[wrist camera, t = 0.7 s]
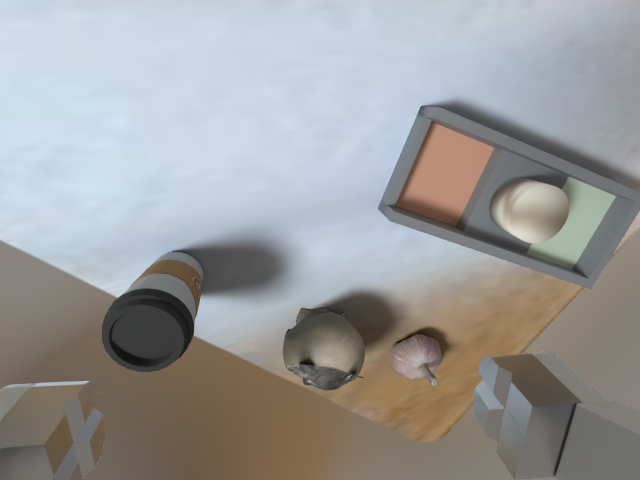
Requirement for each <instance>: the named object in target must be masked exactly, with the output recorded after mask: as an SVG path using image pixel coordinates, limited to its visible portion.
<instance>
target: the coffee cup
mask: <svg viewBox="0 0 640 480" xmlns="http://www.w3.org/2000/svg"><path fill="white" fill-rule="evenodd" d="M203 278H204V274H203V270H202V267H201V265H200V264H199V262H198V261H197V260H196V259H195V258H193V257H192V256H190V255H188V254H185V253H182V252H171V253H167V254H165V255H162V256H161V257H160V258H159V259H157V260H156V261H155V262H154V263H153V264H152V265H151V266H150V267H149V268H148V269H147V270H146V271H145V272H144V273H143V274H142V275H141V276H140V277H139V278H138V279H137V280H136V281H135V282H134V283H133V284H132V285H131V287H130V288H129V289H128V290H127V291H126V293H125V294H123V295H121V296H120V297H119V298H118V299H116V300H115V301H114V302H113V304H112V305H111V307H110V308H109V310H108V312H107V314H106V315H105V318H104V322H103V325H102V339H103V340H102V342H103V344H104V347H105V350H106V351H107V353H108V354H109V355H110V357H111V358H112V359H113V360H114V361H116V362H117V363H118V364H119V365H122V366H123V367H126V368H128V369H131V370H135V371H142V372H151V371H157V370H160V369H163V368H165V367H168V366H169V365H170V364H172V363H173V362H174V361H176V360H177V359H178V358H180V357H181V356H182V354H183V353H184V352H185V351H186V349H187V348H188V345H189V344H190V342H191V340H192V337H193V334H194V321H195V318H196V315H197V311H198V306H199V302H200V297H201V292H202V284H203Z"/></svg>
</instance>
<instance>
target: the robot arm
mask: <svg viewBox="0 0 640 480" xmlns="http://www.w3.org/2000/svg"><path fill="white" fill-rule="evenodd" d="M478 373H479V375H480V376H481V378H482V379H483V380H482V381H481V383H480V384H479V385H478V386H477V387H476V388H475V391H474V399H473V404H474V410H475V415H476V418H477V420H478V423H479V425H480V426H481V428H482V430H483V431H484V433H485V434H486V435H488V436H489V437H491V438H493V439H494V440H496V441H497V449H496V452H497V453H498V455H499V456H500V458H501V459H502V461H503V463H504V464H505V465H506V467H507V469H508V470H509V472H510V473H511V475H512V476H513V478H514V479H530V478H544V477H555V479H556V480H640V412H639V411H637V410H635V409H633V408H630V407H628V406H626V405H624V404H621V403H619V402H617V401H607V400H606V399H605V398H604V397H603V396H602V395H601V394H599V393H598V392H597V391H596V390H595V389H594V388H593V387H592V386H590V385H589V384H588V383H587V382H586V381H585V380H584V379H583V378H581V377H580V376H579V375H578V374H577V373H576V372H575V371H574V370H572V369H571V368H570V367H569V366H568V365H567V364H566V363H565V362H563V361H562V360H561V359H560V358H559V357H558V356H556V355H555V354H554V353H551V352H549V351H544V352H533V353H526V354H517V355H502V356H487V357H483V358H482V360H481V361H480V364H479V369H478ZM98 399H99V395H98V391H97V387H96V384H95V383H93V382H91V381H77V382H53V383H37V384H15V385H9V386H6V387H4V388H1V389H0V480H83V479H82V478H83V477H84V476H85V475H87V474H88V473H89V472H90V471H91V470H93V469H94V468H95V467H96V465H97V463H98V460H99V458H100V456H101V454H102V449H103V444H104V440H105V423H104V418H103V415H102V414H100V413H99V412H98V411H97V410H96V409H95V408H94V406H95V404H96V402H97V401H98Z"/></svg>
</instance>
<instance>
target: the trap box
mask: <svg viewBox="0 0 640 480" xmlns="http://www.w3.org/2000/svg"><path fill="white" fill-rule="evenodd" d="M516 177H525V178H529V179H532V180H535V181H539V182H542V183H545V184H549V185H552V186H555V187H558V188H560V189H561V190H562V191H563V192H564V193H565V194H566V196H567V198H568V201H569V214H568V218H567V220H566V222H565V224H564V226H563V227H562V229H561V230H560V231H559V232H558V233H557V234H556V235H555V236H554V237H552V238H551V239H549V240H547V241H544V242H541V243H528V242H525V241H523V240H521V239H519V238H517V237H515V236H514V235H512V234H510V233H508V232H506V231H505V230H503V229H501V228H499V227H498V226H496V225H495V224H494V222H493V221H492V219H491V216H490V211H489V207H490V202H491V199H492V196H493V194H494V193H495V191H496V190H497V189H498V188H499V186H501V185H502V184H503V183H504V182H506V181H508V180H510V179H512V178H516ZM378 209H379V210H380V211H381V212H382V213H383V214H384V215H385V216H386V217H387V219H388V220H389V221H392V222H395V223H398V224H400V225H403V226H406V227H409V228H412V229H415V230H418V231H421V232H424V233H427V234H430V235H433V236H436V237H439V238H442V239H445V240H448V241H451V242H453V243H456V244H459V245H462V246H465V247H468V248H471V249H474V250H477V251H480V252H483V253H486V254H489V255H492V256H495V257H498V258H501V259H504V260H507V261H509V262H512V263H515V264H518V265H521V266H524V267H527V268H530V269H533V270H536V271H539V272H542V273H545V274H548V275H551V276H554V277H557V278H560V279H562V280H565V281H568V282H571V283H574V284H577V285H580V286H583V287H586V288H589V289H591V288H592V286H593V285H594V283H595V281H596V280H597V278H598V277H599V275H600V273H601V272H602V270H603V269H604V267H605V265H606V264H607V262H608V261H609V259H610V257H611V256H612V254H613V253H614V251H615V249H616V248H617V246H618V244H619V243H620V241H621V240H622V238H623V236H624V235H625V233H626V232H627V230H628V228H629V227H630V225H631V224H632V222H633V220H634V219H635V217H636V215H637V214H638V212H639V211H640V192H639V191H636V190H634V189H632V188H629V187H627V186H625V185H622V184H620V183H618V182H615V181H613V180H611V179H608V178H606V177H603V176H601V175H599V174H596V173H594V172H592V171H589V170H587V169H585V168H582V167H580V166H578V165H575V164H573V163H570V162H568V161H566V160H563V159H561V158H559V157H556V156H554V155H552V154H549V153H547V152H545V151H542V150H540V149H537V148H535V147H533V146H530V145H528V144H526V143H523V142H521V141H519V140H516V139H514V138H512V137H509V136H507V135H504V134H502V133H500V132H497V131H495V130H493V129H490V128H488V127H486V126H483V125H481V124H479V123H476V122H474V121H471V120H469V119H467V118H464V117H462V116H460V115H457V114H455V113H453V112H450V111H448V110H446V109H443V108H441V107H428V106H421V107H420V110H419V112H418V115H417V117H416V119H415V122H414V124H413V126H412V129H411V131H410V134H409V136H408V138H407V141H406V143H405V145H404V148H403V150H402V153H401V155H400V157H399V160H398V162H397V164H396V167H395V169H394V172H393V174H392V176H391V179H390V181H389V183H388V186H387V188H386V191H385V193H384V195H383V198H382V200H381V202H380V205H379V207H378Z"/></svg>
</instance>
